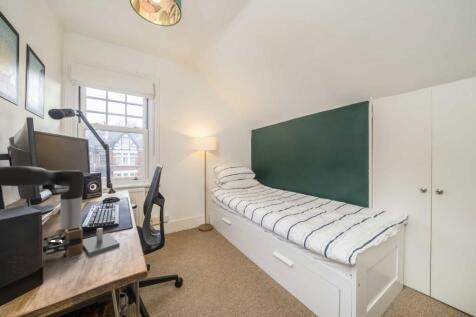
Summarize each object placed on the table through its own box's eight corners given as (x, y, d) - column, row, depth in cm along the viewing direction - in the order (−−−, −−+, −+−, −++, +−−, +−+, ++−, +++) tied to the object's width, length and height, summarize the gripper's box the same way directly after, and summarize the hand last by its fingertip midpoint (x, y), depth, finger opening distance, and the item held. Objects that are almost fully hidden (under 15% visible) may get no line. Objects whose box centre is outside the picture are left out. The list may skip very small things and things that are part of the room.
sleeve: (64, 253, 77) (64, 229, 77) (80, 248, 81) (80, 226, 81) (66, 257, 74) (66, 232, 74) (82, 252, 78) (82, 229, 78)
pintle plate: (80, 243, 86) (80, 227, 86) (108, 235, 94) (108, 221, 94) (89, 256, 75) (89, 238, 75) (119, 246, 83) (119, 230, 83)
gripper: (21, 248, 62) (83, 233, 74) (21, 236, 71) (76, 224, 84) (21, 270, 62) (83, 251, 74) (21, 255, 71) (76, 240, 84)
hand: (79, 237), depth 79 cm, fingers open, 8 cm apart
